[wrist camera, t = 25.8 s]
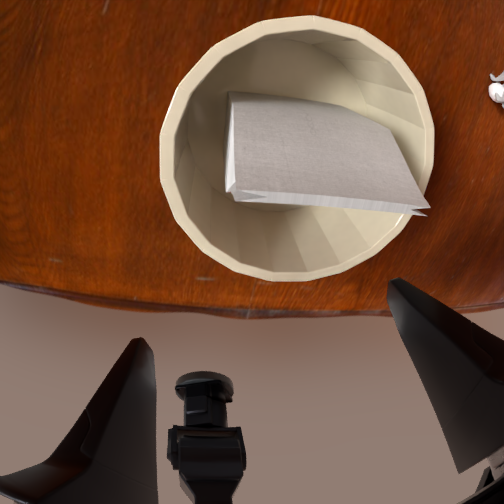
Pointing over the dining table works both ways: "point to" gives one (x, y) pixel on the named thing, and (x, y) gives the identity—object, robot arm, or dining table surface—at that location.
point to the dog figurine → (497, 89)
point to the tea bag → (313, 156)
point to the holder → (297, 86)
